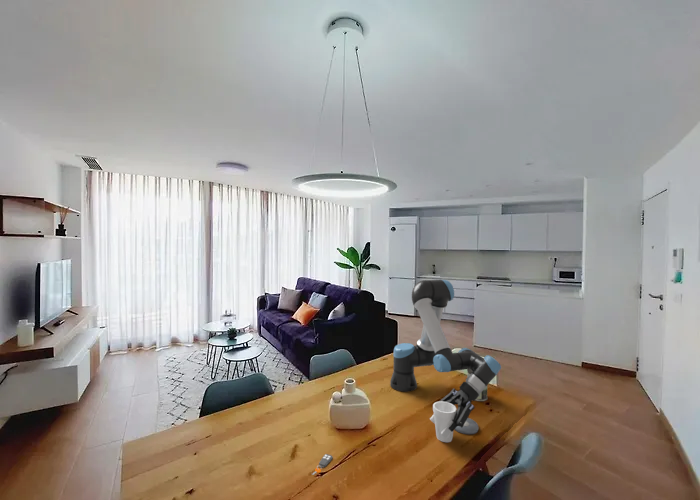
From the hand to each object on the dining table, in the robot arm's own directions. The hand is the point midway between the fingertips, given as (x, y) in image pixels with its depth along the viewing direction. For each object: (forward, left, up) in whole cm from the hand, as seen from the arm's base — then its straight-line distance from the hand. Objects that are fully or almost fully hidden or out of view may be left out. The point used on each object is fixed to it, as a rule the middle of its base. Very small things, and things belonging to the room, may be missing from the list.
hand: (437, 428), depth 128 cm
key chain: (-44, -24, -5) cm, 51 cm away
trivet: (+13, +11, -4) cm, 18 cm away
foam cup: (+3, +1, -5) cm, 6 cm away
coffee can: (+26, +41, -5) cm, 49 cm away
